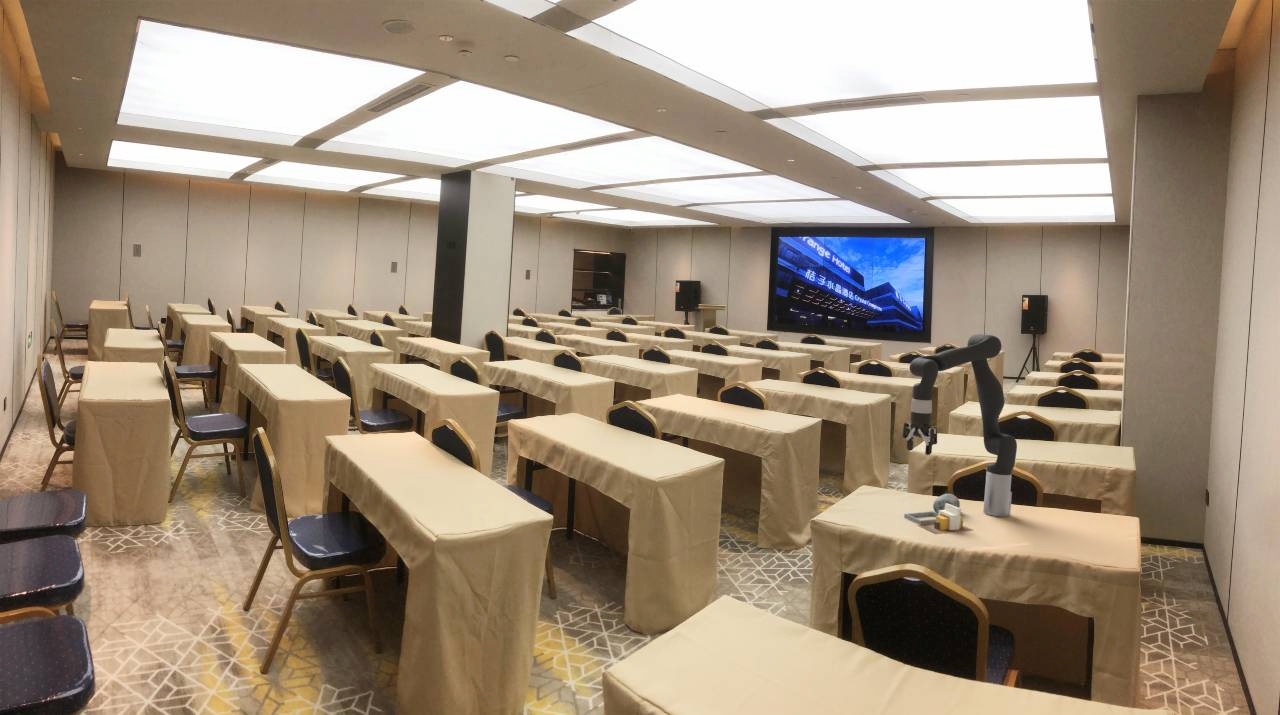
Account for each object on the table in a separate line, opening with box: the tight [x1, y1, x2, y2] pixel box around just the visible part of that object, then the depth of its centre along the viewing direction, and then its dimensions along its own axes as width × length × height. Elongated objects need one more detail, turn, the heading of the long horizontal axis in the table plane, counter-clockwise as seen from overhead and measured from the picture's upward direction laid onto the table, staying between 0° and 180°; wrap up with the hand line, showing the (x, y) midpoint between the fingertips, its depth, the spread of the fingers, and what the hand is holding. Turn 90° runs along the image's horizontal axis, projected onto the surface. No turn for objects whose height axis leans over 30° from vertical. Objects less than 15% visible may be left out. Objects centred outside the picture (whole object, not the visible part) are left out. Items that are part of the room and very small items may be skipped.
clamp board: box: [916, 520, 973, 535], centre depth 273 cm, size 18×10×3 cm, turn 110°
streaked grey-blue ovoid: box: [932, 493, 961, 513], centre depth 293 cm, size 14×10×10 cm
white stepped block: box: [938, 503, 962, 530], centre depth 273 cm, size 4×7×8 cm, turn 20°
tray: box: [903, 510, 938, 525], centre depth 282 cm, size 14×9×2 cm
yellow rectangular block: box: [935, 515, 963, 530], centre depth 273 cm, size 9×4×4 cm, turn 110°
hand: (918, 452), depth 278 cm, fingers open, 8 cm apart
